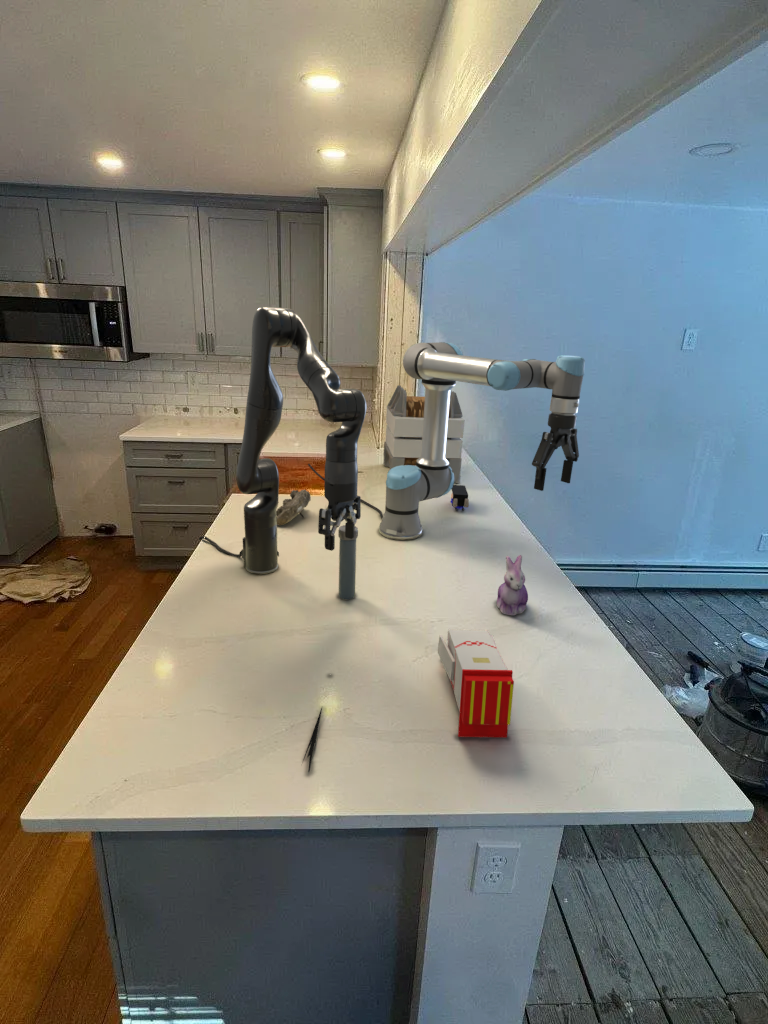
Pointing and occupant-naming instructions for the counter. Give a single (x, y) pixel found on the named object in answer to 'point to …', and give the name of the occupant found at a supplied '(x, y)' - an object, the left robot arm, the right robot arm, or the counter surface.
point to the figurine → (512, 589)
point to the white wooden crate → (419, 431)
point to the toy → (478, 682)
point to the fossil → (292, 506)
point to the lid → (342, 533)
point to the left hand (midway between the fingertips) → (339, 543)
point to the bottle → (347, 568)
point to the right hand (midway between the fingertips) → (552, 485)
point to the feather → (313, 740)
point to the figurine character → (459, 497)
